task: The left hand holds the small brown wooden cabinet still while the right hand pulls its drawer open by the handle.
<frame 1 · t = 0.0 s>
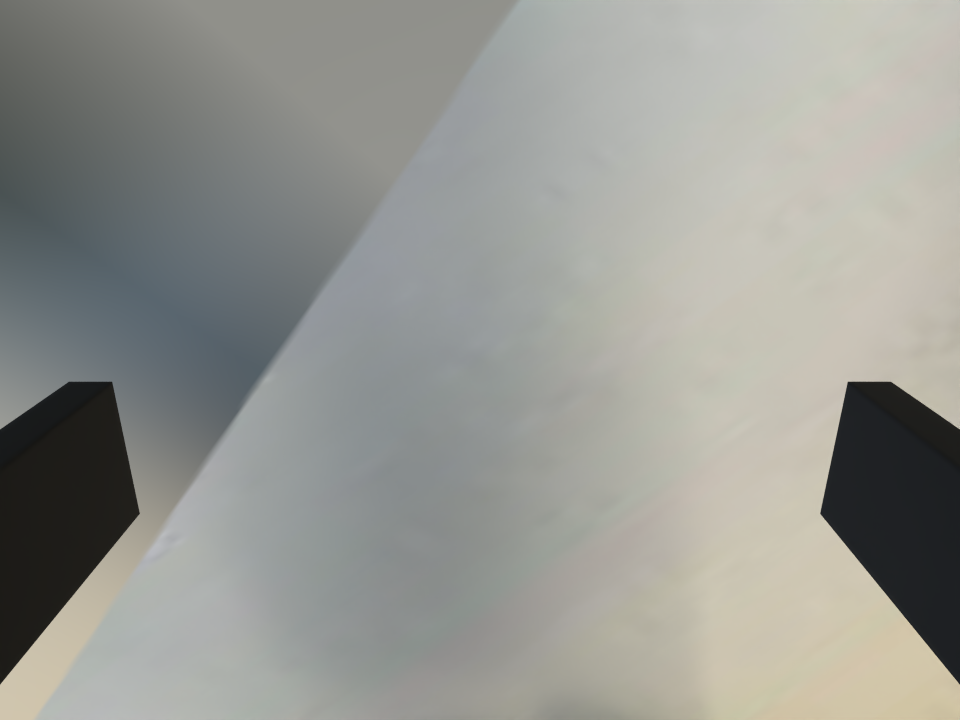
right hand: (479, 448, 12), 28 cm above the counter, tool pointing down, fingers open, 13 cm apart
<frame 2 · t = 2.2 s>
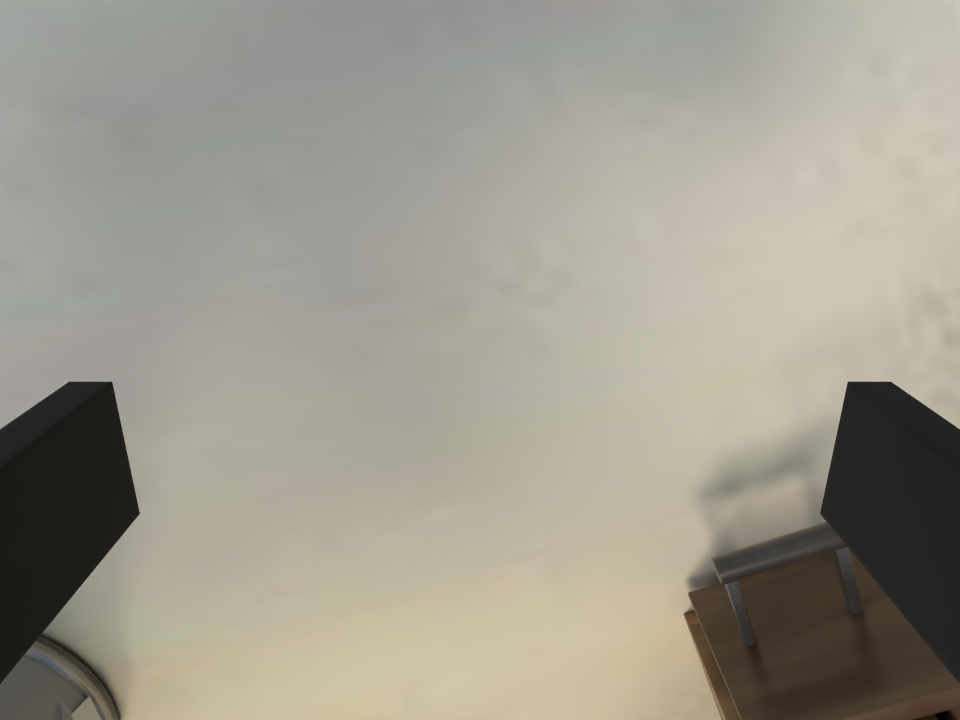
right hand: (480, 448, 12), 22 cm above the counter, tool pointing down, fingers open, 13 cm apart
cabinet: (798, 688, 43), on the counter
drawer: (825, 701, 36), point 6 cm above the counter, slide at 1.2 cm
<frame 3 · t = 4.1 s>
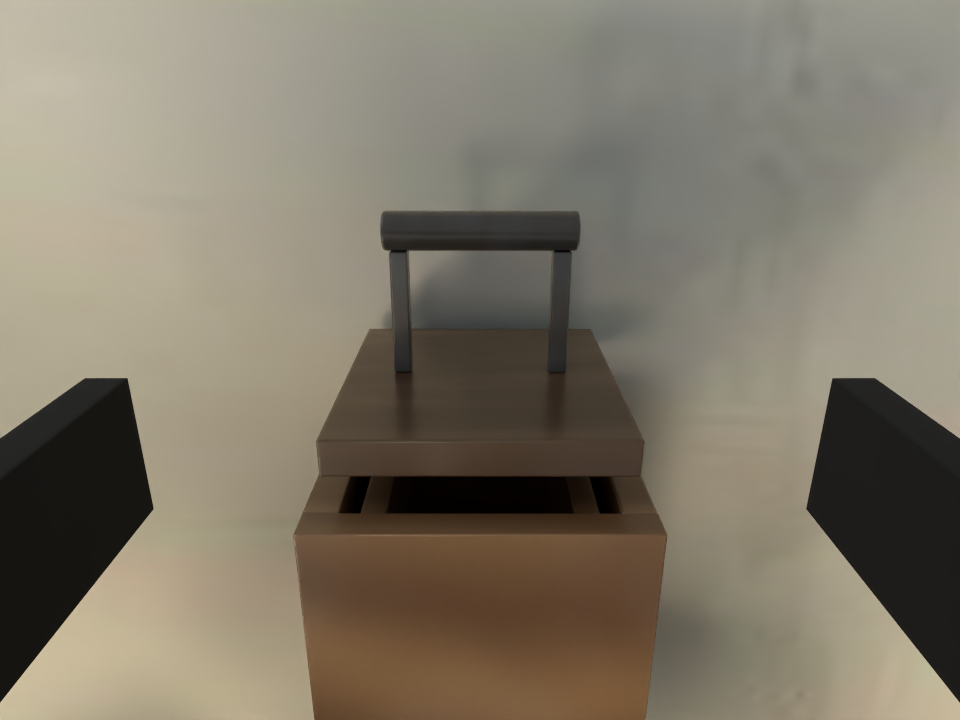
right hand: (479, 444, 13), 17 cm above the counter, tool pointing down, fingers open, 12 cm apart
cabinet: (479, 532, 33), on the counter, touching left hand
drawer: (480, 496, 26), point 6 cm above the counter, slide at 1.2 cm
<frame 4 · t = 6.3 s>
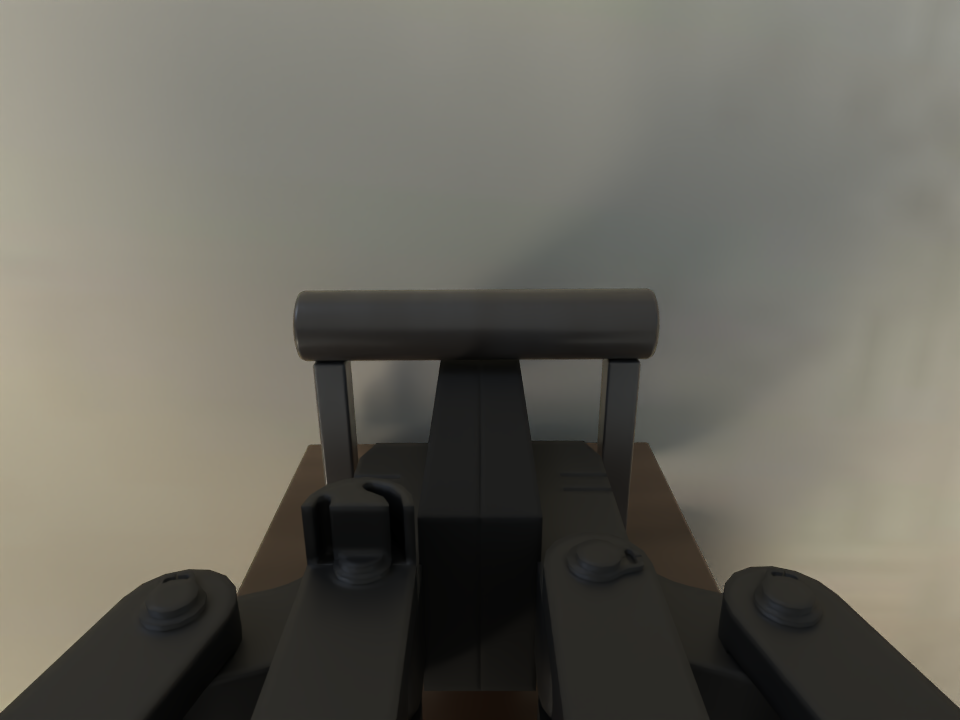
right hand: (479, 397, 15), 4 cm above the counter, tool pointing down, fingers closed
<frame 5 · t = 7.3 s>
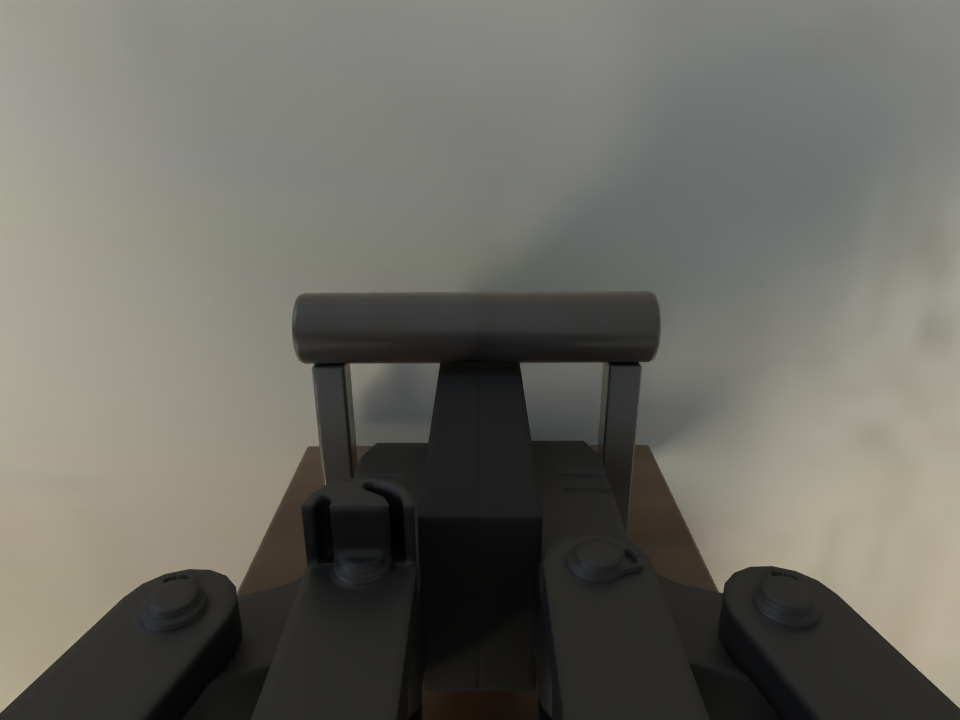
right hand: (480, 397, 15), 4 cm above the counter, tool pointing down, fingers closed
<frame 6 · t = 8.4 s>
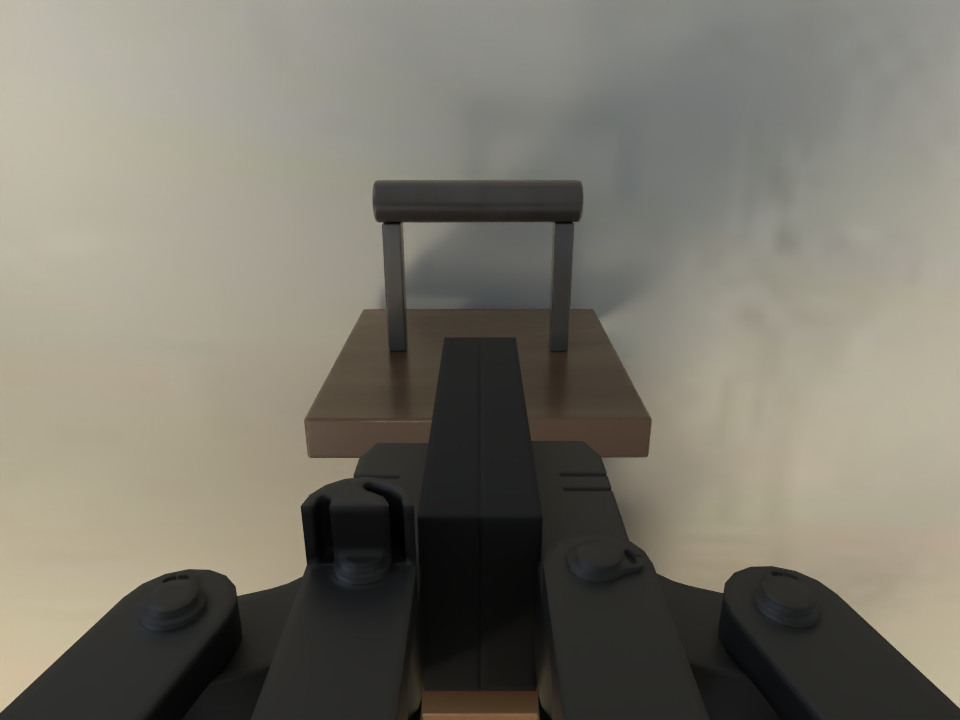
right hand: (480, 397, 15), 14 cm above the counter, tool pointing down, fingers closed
cabinet: (479, 637, 35), on the counter, touching left hand
drawer: (478, 482, 25), point 6 cm above the counter, slide at 8.1 cm
when the left hand's fingers open (7 cm above the counter, at t = 9.1 s): cabinet stays where it is, on the counter.
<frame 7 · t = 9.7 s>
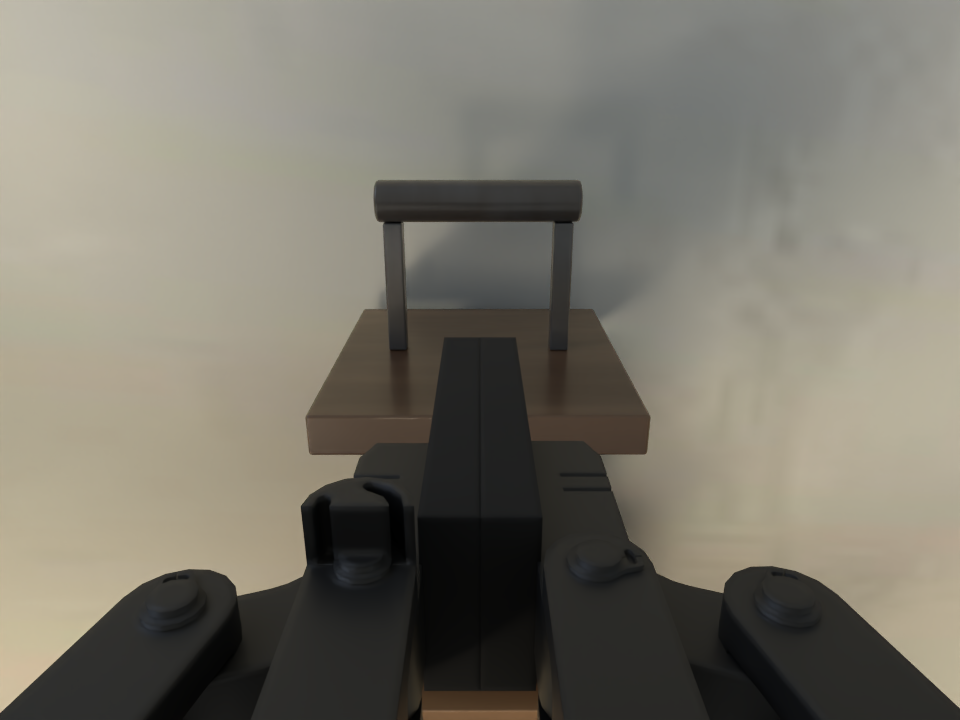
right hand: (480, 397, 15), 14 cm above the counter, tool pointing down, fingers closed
cabinet: (479, 637, 35), on the counter
drawer: (478, 480, 25), point 6 cm above the counter, slide at 8.1 cm
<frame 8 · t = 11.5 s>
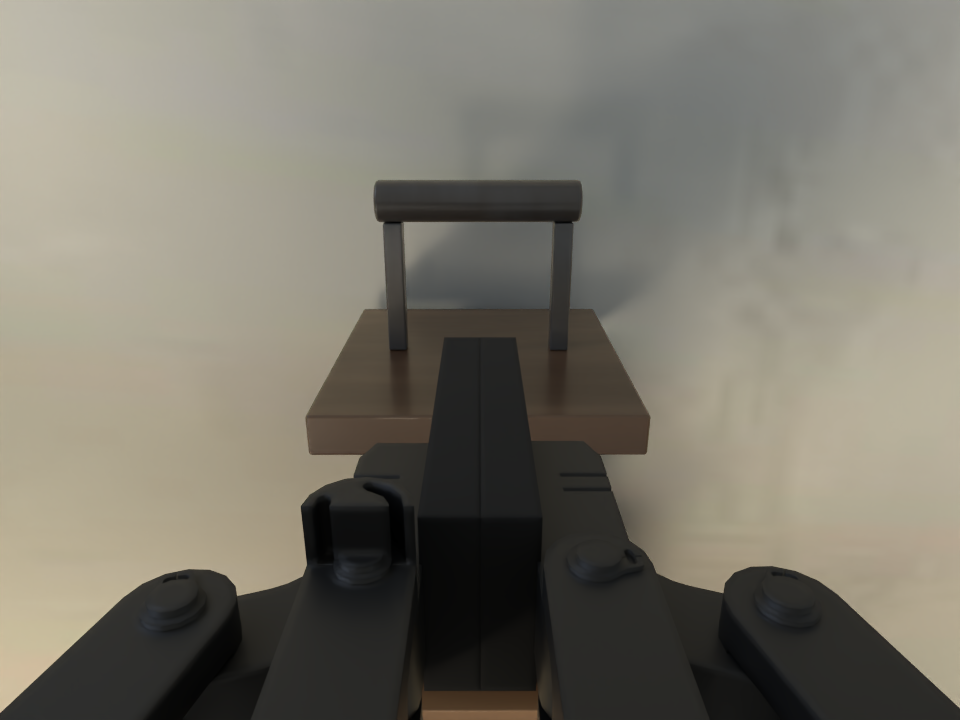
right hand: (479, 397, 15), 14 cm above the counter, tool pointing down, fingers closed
cabinet: (479, 637, 35), on the counter
drawer: (478, 480, 25), point 6 cm above the counter, slide at 8.1 cm
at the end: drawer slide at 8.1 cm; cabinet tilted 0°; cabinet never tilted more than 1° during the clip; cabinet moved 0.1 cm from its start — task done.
